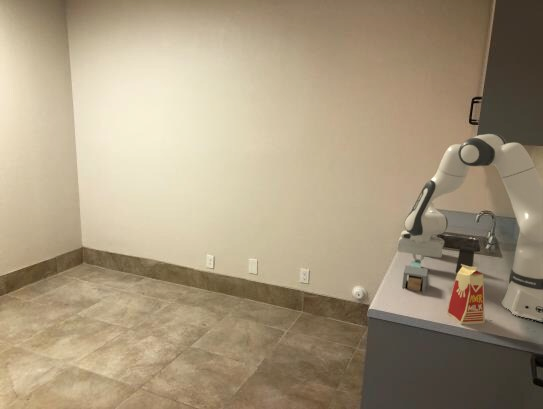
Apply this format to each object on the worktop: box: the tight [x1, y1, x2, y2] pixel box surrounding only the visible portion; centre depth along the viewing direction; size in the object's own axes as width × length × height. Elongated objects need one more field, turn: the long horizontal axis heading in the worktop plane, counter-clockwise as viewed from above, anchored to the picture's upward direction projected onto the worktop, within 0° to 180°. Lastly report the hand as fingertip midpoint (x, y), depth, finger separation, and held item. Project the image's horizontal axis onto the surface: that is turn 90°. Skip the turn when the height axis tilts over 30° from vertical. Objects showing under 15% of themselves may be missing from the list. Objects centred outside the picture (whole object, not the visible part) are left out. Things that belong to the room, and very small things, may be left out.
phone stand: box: [455, 244, 476, 274], centre depth 183 cm, size 9×6×12 cm, turn 146°
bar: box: [410, 261, 422, 268], centre depth 176 cm, size 18×4×4 cm, turn 162°
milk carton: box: [446, 264, 486, 325], centre depth 138 cm, size 9×9×20 cm
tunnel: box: [401, 264, 428, 293], centre depth 165 cm, size 9×9×7 cm
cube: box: [406, 275, 423, 291], centre depth 164 cm, size 5×5×5 cm
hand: (417, 263), depth 188 cm, fingers closed
